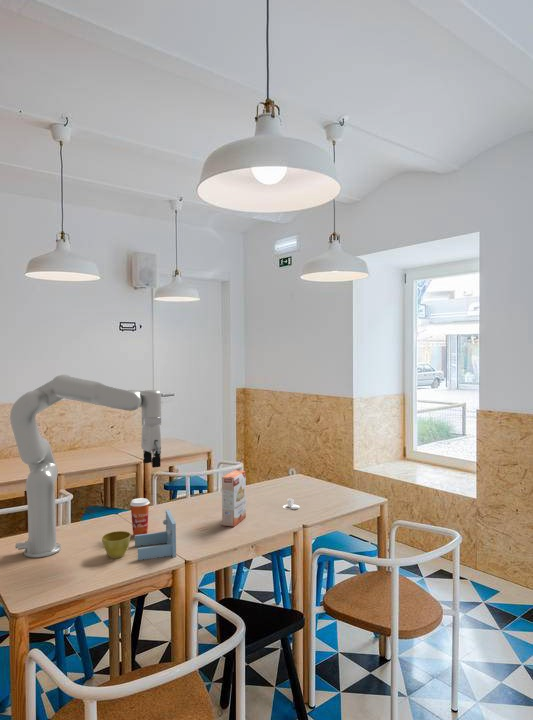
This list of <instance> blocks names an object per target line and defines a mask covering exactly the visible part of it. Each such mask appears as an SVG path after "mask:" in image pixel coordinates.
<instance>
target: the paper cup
mask: <svg viewBox="0 0 533 720" xmlns="http://www.w3.org/2000/svg"><path fill="white" fill-rule="evenodd" d="M149 504H151V502H150V500H149V499H148V498H144V497H140V498H134V499H131V502H130V503H129V505H130V511H131V512H130V514H131V525H132V526H131V527H132V535H133V537H134V538H135V535H141V534H148V533H149V532H148V529H149Z"/></svg>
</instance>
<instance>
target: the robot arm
mask: <svg viewBox="0 0 533 720" xmlns="http://www.w3.org/2000/svg"><path fill="white" fill-rule="evenodd" d="M63 399H65V400H71V401H77V402H81V403H82V402H83V403H88V404H92V405H96V406H101V407H105V408H106V407H107V408H110V409H111V408H112V409H117V410H122V411H126V412H127V411H129V412H133V411H136V410H138V409H139V408H141V426H142V428H141V449H142V450H143V463H144V464H149V463H150V464H151V468H160V467H161V456H162V450H161V449H162V437H161V425H162V393H161V391H160V390H157V389H146V390H138V389H137V390H136V389H128V390H126V389H123V388H116V387H113V386H109V385H106V384H103V383H101V382H99V381H94V380H89V379H82V378H78V377H74V376H70V375H69V374H68V375H67V374H60V375H57V376H55V377H54V378H53V379H52V380H49V381H47V383H45V384H42V385H41V386H39V387H37V388H36V389H33V390H30V391H28V392H26V393H24V394H22V395H21V396H20V397H19V398H18V399H17V400H16V401H15V402H14V403H13V404H12V407H11V409H10V412H9V413H10V414H9V421H10V425H11V428H12V432H13V437H14V441H15V443H16V447H17V450H18V453H19V454H18V455H19V458H20V459H21V461H22V462H23V463H24V464H26V465H28V468H29V471H30V472H29V474H28V475H27V478H26V482H25V489H26V499H27V500H26V501H27V523H28V525H27V531H28V534H27V535H28V540H25V541H23V542H16V543H15V549H18V550H19V551H20V550H24V551H23V554H24V556H25V557H28V558H43V557H44V558H45V557H48V556H51V555H54V554H56V553H58V552H59V551H61V549H62V546H61V544H60V543H59V542H57V516H56V515H57V512H56V509H57V508H56V492H55V491H56V490H55V489H56V487H55V484H56V481H57V479H58V475H59V473H58V467H57V464H56V461H55V456H54V455H53V451H52V448H51V445H50V442H49V441H48V440H47V439H46V438H45V437H43V436H41V432H40V428H39V426H38V423H37V420H36V416H37V414H39V413H41V412H42V411H44V410H46V409H48V408H49V407H51V406H52V405H54V404H56V403H58V402H60V401H62V400H63Z"/></svg>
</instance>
